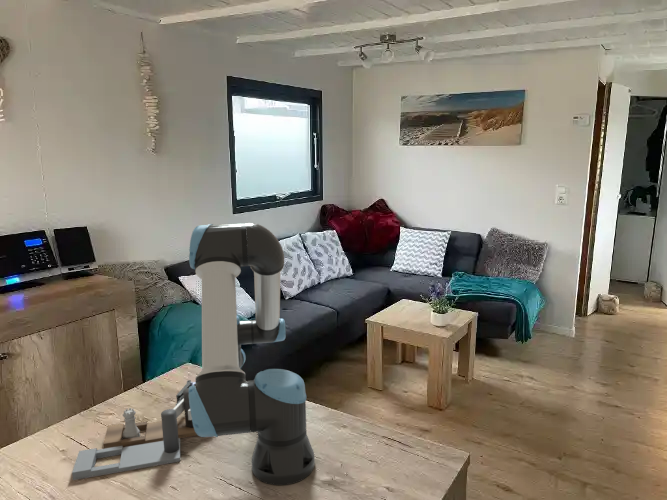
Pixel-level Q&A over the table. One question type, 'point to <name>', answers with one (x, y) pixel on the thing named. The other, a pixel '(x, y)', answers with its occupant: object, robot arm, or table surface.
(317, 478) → the table surface
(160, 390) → the table surface
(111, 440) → the brown board with post
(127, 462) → the grey board with post
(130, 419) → the rook chess piece
